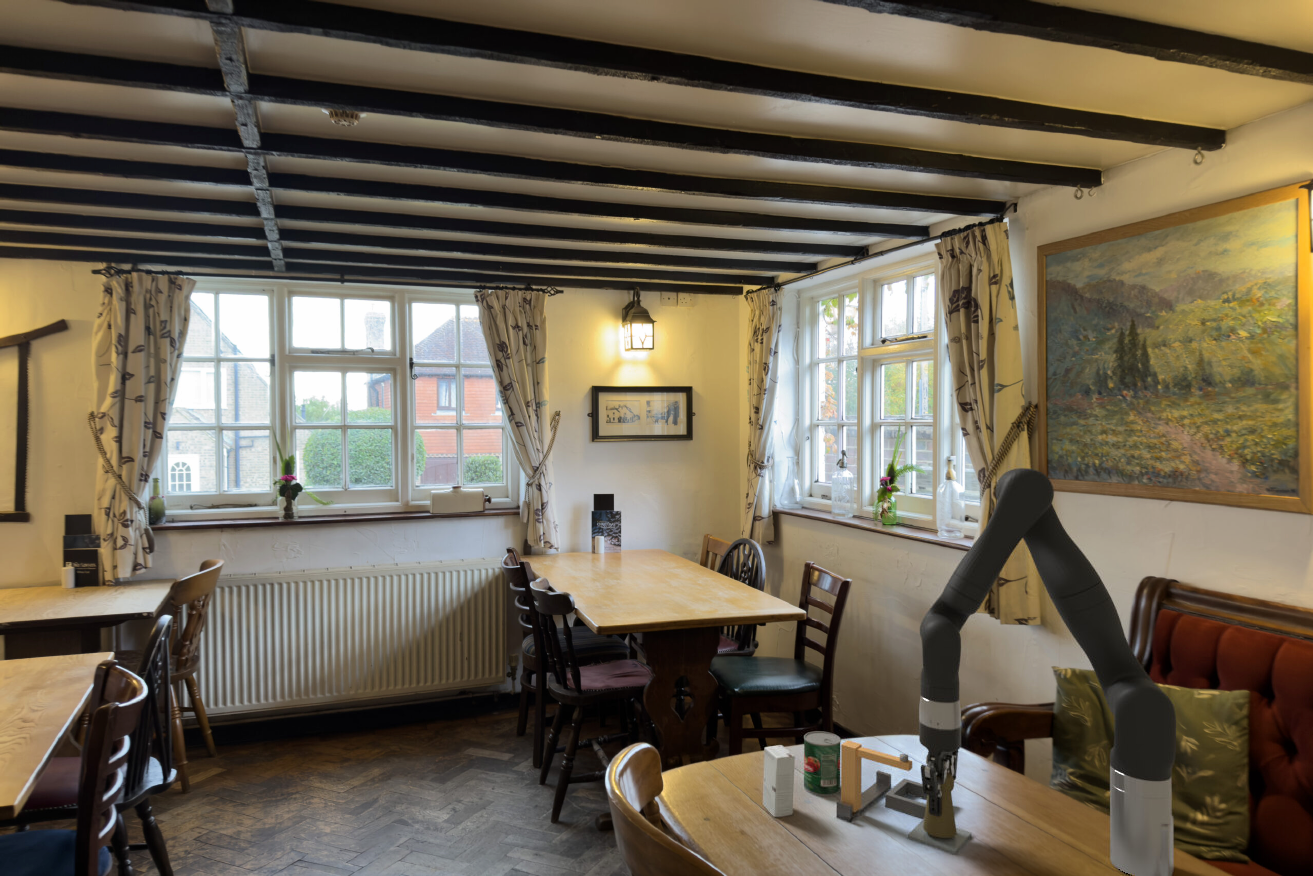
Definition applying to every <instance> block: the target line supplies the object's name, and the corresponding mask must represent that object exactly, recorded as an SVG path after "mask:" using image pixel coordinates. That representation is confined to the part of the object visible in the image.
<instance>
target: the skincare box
mask: <svg viewBox="0 0 1313 876" xmlns="http://www.w3.org/2000/svg"><path fill="white" fill-rule="evenodd" d="M763 758H764V759H763V781H762V782H763V783H762V785H763V786H762V804H763V806H764V808H765V809H766V810H767V811H768V813H770V814H771V815H772V816H773V818H774V817H775V818H781V817H782V818H783V817H787V816H792V815H793V813H794V811H793V810H794V790H795V789H794V786H795V785H794V783H795V782H794V781H795V762H796V761H795V758H796V757H795V755H794V754H792V753H791V751H790V750H788V748H786V747H785V746H784V745H782V744H779V745H773V746H765V747H764V753H763Z"/></svg>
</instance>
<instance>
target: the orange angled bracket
mask: <svg viewBox="0 0 1313 876" xmlns="http://www.w3.org/2000/svg"><path fill="white" fill-rule="evenodd" d="M840 748H841V749H840V801H841V802H844V803H847V804H850V805H853V812H856V811H857V810H859V809H860V808H861V794H862V759H865V760H869V761H872V762H876V763H879V764H882V765H886V766H890V767H893V768H897V769H899V770H903V771H907V772H910V771H911V770H913V760H910V759H909V755H908V754H906V753H900V754H899V756H896V755H892V754H889V753H886V752H885V753H884V752H881V751H878V750H874V749H870V748H867V747H863V746H862V744H861V743H859V742H855V741H852V740H846V741H845V742H843V743H842V744H840Z"/></svg>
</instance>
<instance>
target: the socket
mask: <svg viewBox="0 0 1313 876" xmlns="http://www.w3.org/2000/svg"><path fill="white" fill-rule="evenodd" d="M907 795H910V796H914V797H917V798H921V799H924V800H926V801H927V794H924V793H923V785H922V782H921V783H920V782H918V781H915V780H910V779H907V778H903V779H902V780H901V781H899V782H898V783H897V784H896V785H894V786H893V787H891V789H890V790H888V791H887V792H886V793H885V794H884V799H885V800H884V804H885V805H884V806H885V807H886V808H889V809H892V810H895V811H898V812H901V813H905V814H908V815H910V816H913V817H917V818H920V819H922V820H923V819H924V817H925V810H926V803H923V802H920V801H917V800H914V799H910V798H908V797H906V796H907Z"/></svg>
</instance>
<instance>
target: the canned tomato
mask: <svg viewBox="0 0 1313 876" xmlns="http://www.w3.org/2000/svg"><path fill="white" fill-rule="evenodd" d="M803 739H804V740H803V741H804V742H803V743H804V744H803V747H804V748H803V789H804V790H805V791H806V792H808V793H809V792H810V793H809V794H811V793H812V795H814V794H815V796H819V795H820V797H832V796H836V795H838V794H839V793H841V741H842V740H841V737H840V736H838V735H837V734H835V733H832V732H828V731H820V730H819V731H818V730H816V731H810V732H807V733H805V734H804V735H803Z"/></svg>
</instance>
